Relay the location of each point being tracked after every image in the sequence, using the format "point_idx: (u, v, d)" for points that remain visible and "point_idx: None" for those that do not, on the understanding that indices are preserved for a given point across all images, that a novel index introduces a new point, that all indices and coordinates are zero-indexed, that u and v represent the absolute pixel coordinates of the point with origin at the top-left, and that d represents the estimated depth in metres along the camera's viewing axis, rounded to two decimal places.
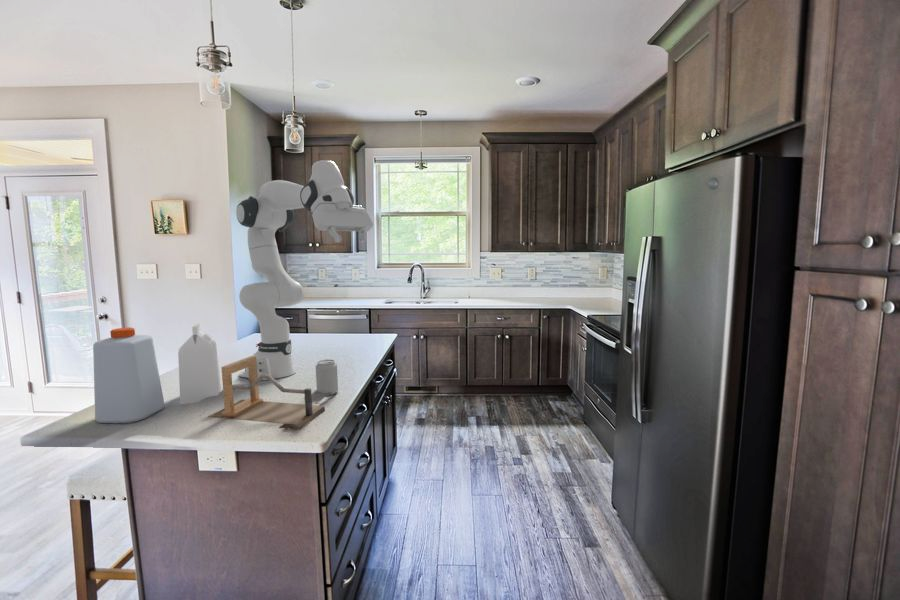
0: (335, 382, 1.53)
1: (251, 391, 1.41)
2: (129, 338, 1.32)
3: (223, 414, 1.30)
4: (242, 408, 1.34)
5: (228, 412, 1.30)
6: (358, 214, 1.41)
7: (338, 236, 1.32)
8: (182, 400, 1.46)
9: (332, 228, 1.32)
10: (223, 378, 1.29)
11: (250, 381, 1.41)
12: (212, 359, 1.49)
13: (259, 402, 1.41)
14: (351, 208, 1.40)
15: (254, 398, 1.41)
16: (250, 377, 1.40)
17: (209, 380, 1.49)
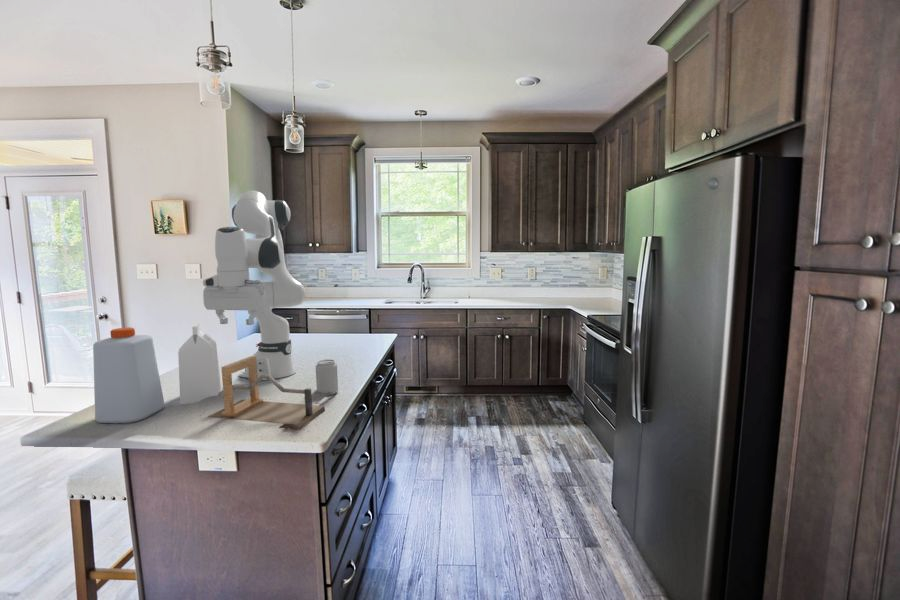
0: (335, 382, 1.53)
1: (251, 391, 1.41)
2: (129, 338, 1.32)
3: (223, 414, 1.30)
4: (242, 408, 1.34)
5: (228, 412, 1.30)
6: (246, 295, 1.29)
7: (221, 320, 1.33)
8: (182, 400, 1.46)
9: (216, 311, 1.33)
10: (223, 378, 1.29)
11: (250, 381, 1.41)
12: (212, 359, 1.49)
13: (259, 402, 1.41)
14: (239, 288, 1.29)
15: (254, 398, 1.41)
16: (250, 377, 1.40)
17: (209, 380, 1.49)
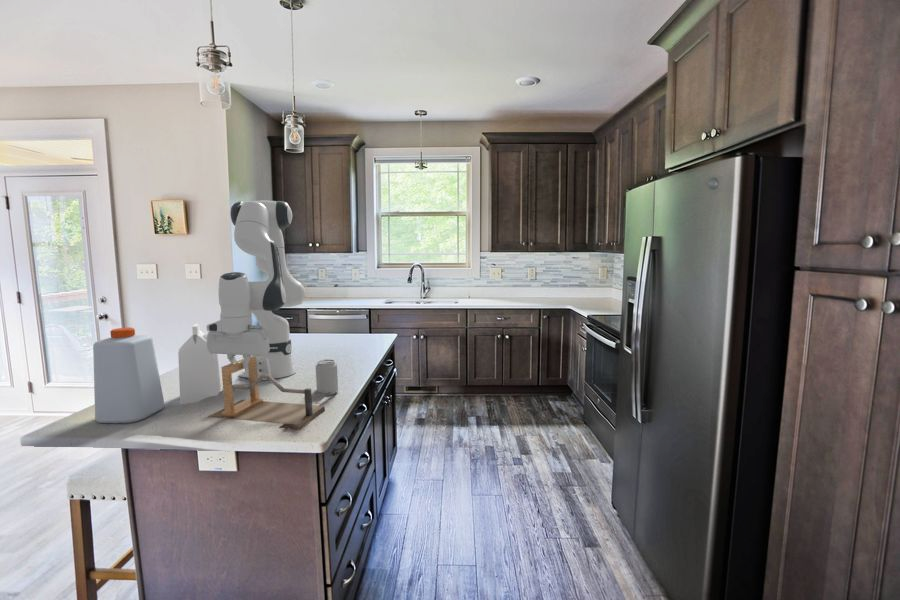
0: (335, 382, 1.53)
1: (251, 391, 1.41)
2: (129, 338, 1.32)
3: (223, 414, 1.30)
4: (242, 408, 1.34)
5: (228, 412, 1.30)
6: (249, 340, 1.31)
7: None
8: (182, 400, 1.46)
9: (228, 356, 1.34)
10: (223, 378, 1.29)
11: (250, 381, 1.41)
12: (212, 359, 1.49)
13: (259, 402, 1.41)
14: (242, 334, 1.31)
15: (254, 398, 1.41)
16: (250, 377, 1.40)
17: (209, 380, 1.49)
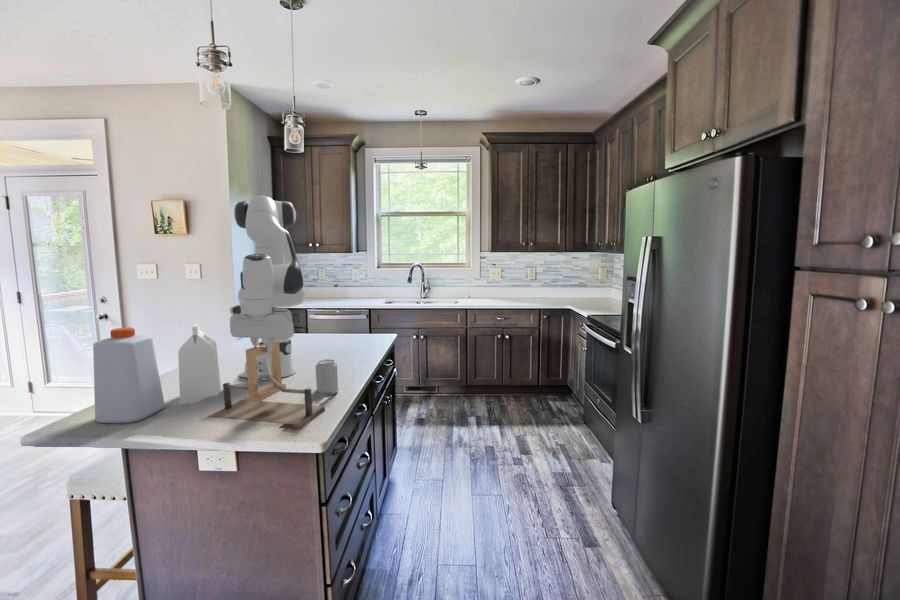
0: (335, 382, 1.53)
1: (274, 376, 1.38)
2: (129, 338, 1.32)
3: (247, 399, 1.28)
4: (266, 393, 1.31)
5: (252, 396, 1.27)
6: (273, 323, 1.28)
7: None
8: (182, 400, 1.46)
9: (251, 339, 1.31)
10: (247, 361, 1.26)
11: (273, 366, 1.38)
12: (212, 359, 1.48)
13: None
14: (266, 316, 1.28)
15: None
16: (273, 362, 1.38)
17: (209, 380, 1.49)
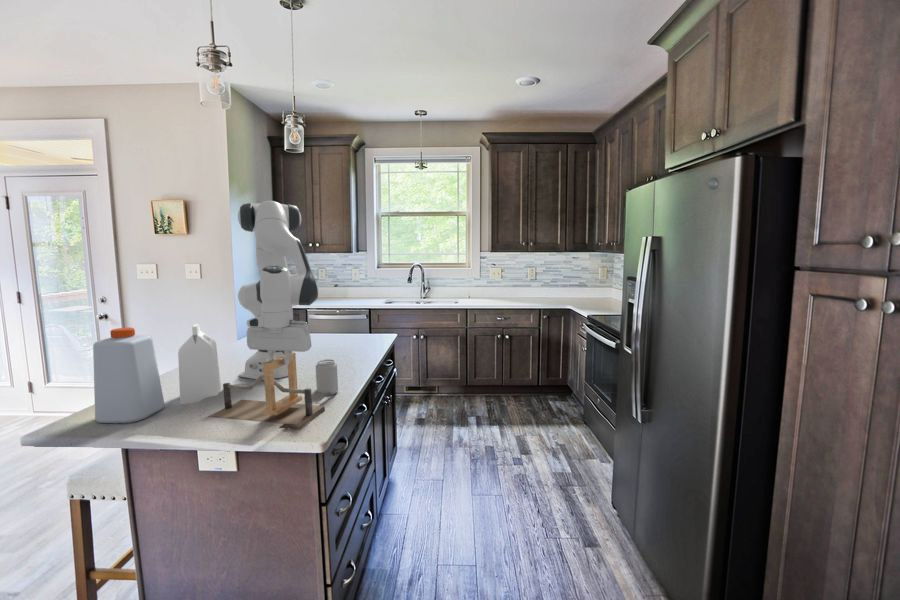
0: (335, 382, 1.53)
1: (290, 388, 1.37)
2: (129, 338, 1.32)
3: (264, 412, 1.27)
4: (283, 405, 1.30)
5: (270, 409, 1.26)
6: (291, 336, 1.28)
7: None
8: (182, 400, 1.46)
9: (268, 352, 1.31)
10: (265, 374, 1.25)
11: (289, 378, 1.37)
12: (212, 359, 1.48)
13: (298, 399, 1.37)
14: (284, 329, 1.28)
15: (293, 395, 1.37)
16: (289, 374, 1.37)
17: (209, 380, 1.49)
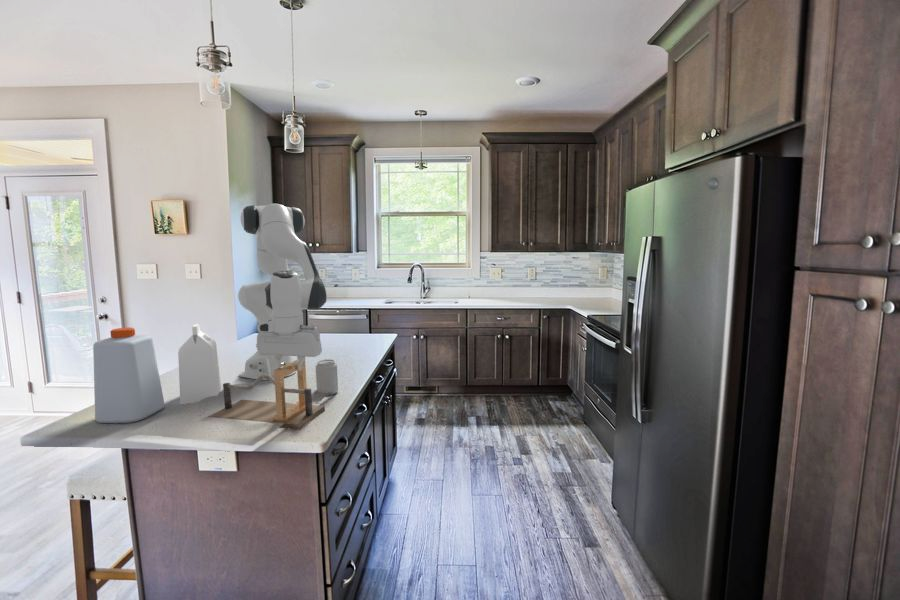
0: (335, 382, 1.53)
1: (300, 395, 1.37)
2: (129, 338, 1.32)
3: (275, 419, 1.26)
4: (293, 412, 1.30)
5: (280, 416, 1.26)
6: (301, 341, 1.27)
7: (279, 365, 1.30)
8: (182, 400, 1.46)
9: (275, 357, 1.30)
10: (275, 381, 1.25)
11: (299, 384, 1.37)
12: (212, 359, 1.49)
13: None
14: (294, 334, 1.27)
15: (303, 402, 1.37)
16: (299, 380, 1.36)
17: (209, 380, 1.49)
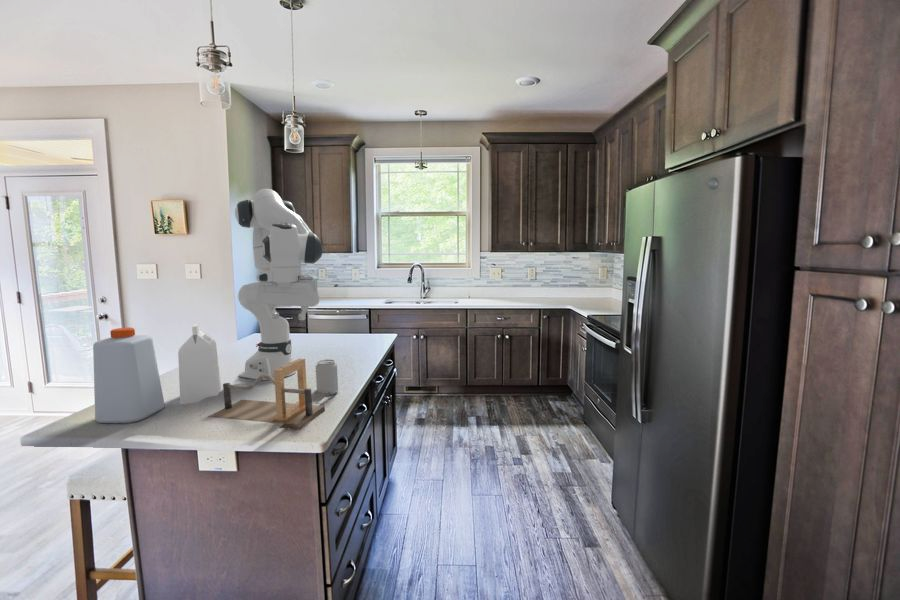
0: (335, 382, 1.53)
1: (300, 395, 1.37)
2: (129, 338, 1.32)
3: (275, 419, 1.26)
4: (293, 412, 1.30)
5: (280, 416, 1.26)
6: (299, 291, 1.31)
7: (273, 315, 1.35)
8: (182, 400, 1.46)
9: (268, 306, 1.35)
10: (275, 381, 1.25)
11: (299, 384, 1.37)
12: (212, 359, 1.48)
13: None
14: (292, 284, 1.31)
15: (303, 402, 1.37)
16: (299, 380, 1.36)
17: (209, 380, 1.49)
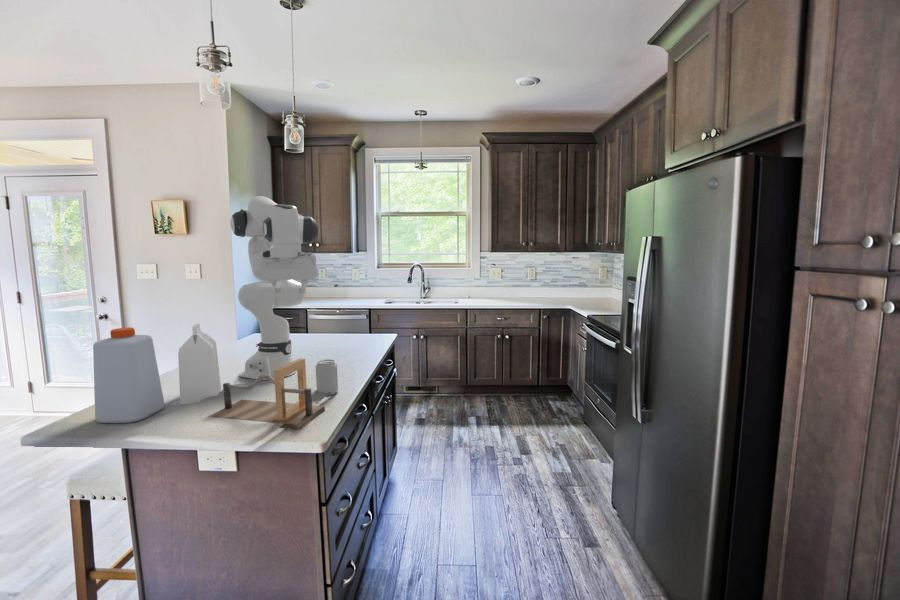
0: (335, 382, 1.53)
1: (300, 395, 1.37)
2: (129, 338, 1.32)
3: (275, 419, 1.26)
4: (293, 412, 1.30)
5: (280, 416, 1.26)
6: (300, 266, 1.43)
7: (275, 289, 1.47)
8: (182, 400, 1.46)
9: (271, 281, 1.47)
10: (275, 381, 1.25)
11: (299, 384, 1.37)
12: (212, 359, 1.49)
13: None
14: (293, 260, 1.43)
15: (303, 402, 1.37)
16: (299, 380, 1.36)
17: (209, 380, 1.49)
